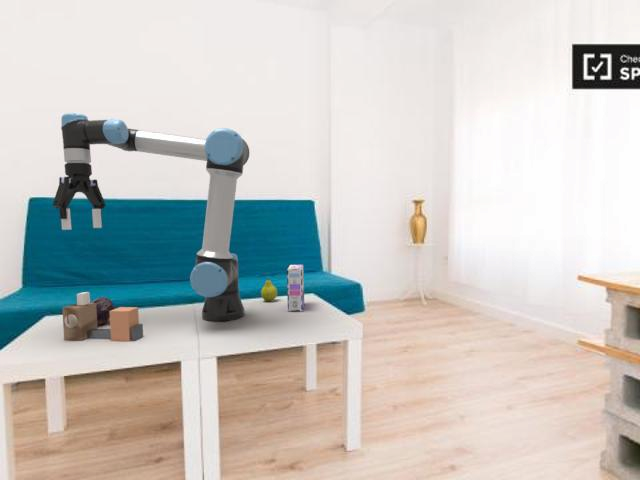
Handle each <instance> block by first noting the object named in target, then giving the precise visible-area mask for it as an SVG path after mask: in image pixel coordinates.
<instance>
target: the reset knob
mask: <svg viewBox="0 0 640 480" xmlns="http://www.w3.org/2000/svg"><path fill="white" fill-rule="evenodd" d="M90 296H91V295H90V291H85V292H83V291H82V292H80V293H76V303H77V305H86V304H90V303H91V297H90Z"/></svg>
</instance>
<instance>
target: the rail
mask: <svg viewBox="0 0 640 480" xmlns="http://www.w3.org/2000/svg"><path fill="white" fill-rule="evenodd" d="M143 337H144V326H143V323H139V324H138V325H136V326H133V327H131V341H133V342H135V341H137V340H139V339H141V338H143ZM87 339H96V340H97V339H100V340H101V339H102V340H111V330H110V328H98V329H94V328H92V329H90V330H87Z"/></svg>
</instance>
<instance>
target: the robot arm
mask: <svg viewBox="0 0 640 480" xmlns="http://www.w3.org/2000/svg"><path fill="white" fill-rule="evenodd" d="M60 128H61V129H60V130H61V134H62V135H61V136H62V145H63V146H62V147H63V159H64V162H65V164H64V174H65V175H66V176H59V179H58V180H59V181H58V188H57V190H56V193H55V196H54V200H53V203H52V206H53V207H55V209H58V210H59V211H58V212H59V218H60V221H61V230H62V231H66V230H70V231H71V230H72V219H71V208H69V206H70V204H71V202H72V200H73V199H74V197H75V195H76V193H82V194H83V195H84V196H85V197H86V198H87V200H88V201H89V203H90V204H91V206H92V209H91V212H92V215H91V216H92V228H93V229H102V228H103V226H102V225H103V223H102V217H103V216H102V209H104V208H105V207H106V202H105V199H104V197H103V195H102V193H101V190H100V187H99V183H98V179H95V178H94V179H91V178H90V177H91V176H92V174H93V170H92V165H91V164H90V163H92V157H91V156H92V155H91V145H108V146H112V147H114V148H118V149H119V150H123V151H125V152H139V153H147V154H152V155H153V154H154V155H162V156H168V157H175V158H181V159H182V158H184V159H191V160H196V161H203V162H206V165H205V166H206V167H205V170H206V172H207V173H208V174H209V184H208V192H207V202H206V210H205V220H204V229H203V236H202V237H203V238H202V245H201V249H199V251H198V252H196V257H195V265H194V267H193V269H192V270H191V273H190V276H189V281H190V286H191V288H192V290H194V291H195V292H196V293H197V294H198V295H200V296H202V297H205V299H204V304H203V306H202V310H201V319H202V320H205V321H209V322H224V321H232V320H237V319H240V318H243V317H244V316H245V308H244V307H245V306H244V305H243V302H242V299H241V296H240V292H239V291H240V288H239V287H240V286H239V260H238V255H237V254H236V253H232V252H230V245H231V244H230V242H231V235H232V227H233V217H234V209H235V199H236V190H237V183H238V179H239V178H240V177H241V176H243V174H244V173H243V172H244V166H245V165H246V164H247V163H248V161H249V158H250V148H249V145H248V143H247V142H246V140H244V139H243V138H242V136H241V135H240V134H239V132H236V131H235V130H233V129H230V128H226V127H222V128H216V129H215V130H213V131H211V132H210V133H209V134H208V135H207V137H206V138H201V137H193V136H183V135H179V134H178V135H177V134H170V133H165V132H164V133H161V132H155V131H147V130H141V129H134V128H128V126H127V124H126V122H124V120H121V119H113V118H111V119H100V120H99V119H95V120H89V119H88V116H87V115H86V114H82V113H73V112H70V113H68V112H67V113H64V114H63V115H61V126H60Z"/></svg>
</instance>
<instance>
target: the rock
mask: <svg viewBox="0 0 640 480" xmlns="http://www.w3.org/2000/svg"><path fill="white" fill-rule="evenodd" d="M90 303H96V310H97V327H98V326H101V325H104V324H105V325H107V323H109V322H110V311H111V310H114V309H115V304H114V302H113V301H112V299H110V298H108V297H104V296H100V297H97V298H96V299H94V300H93V301H90Z"/></svg>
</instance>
